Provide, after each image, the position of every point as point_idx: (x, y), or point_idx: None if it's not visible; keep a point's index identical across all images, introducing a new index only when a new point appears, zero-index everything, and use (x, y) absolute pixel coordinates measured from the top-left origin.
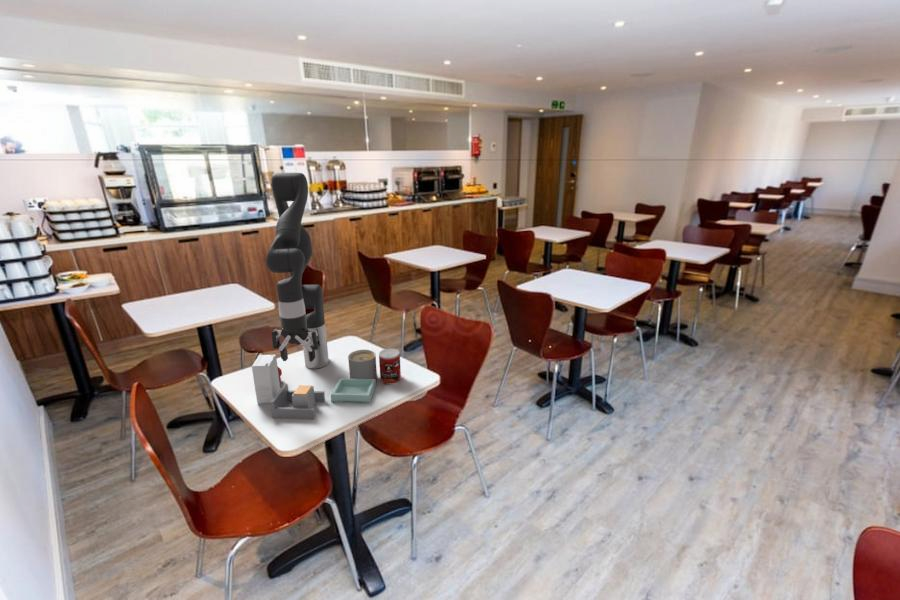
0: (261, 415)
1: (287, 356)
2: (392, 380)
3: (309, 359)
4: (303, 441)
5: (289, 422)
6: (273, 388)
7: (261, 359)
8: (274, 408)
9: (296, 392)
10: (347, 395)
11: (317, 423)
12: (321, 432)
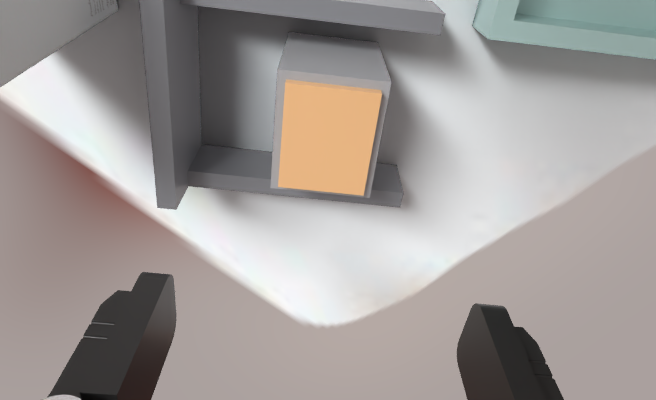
0: (115, 131)
1: (163, 294)
2: None
3: (465, 381)
4: (375, 300)
5: None
6: (75, 19)
7: None
8: (187, 184)
9: (295, 175)
10: (596, 50)
11: (413, 207)
12: (438, 261)
